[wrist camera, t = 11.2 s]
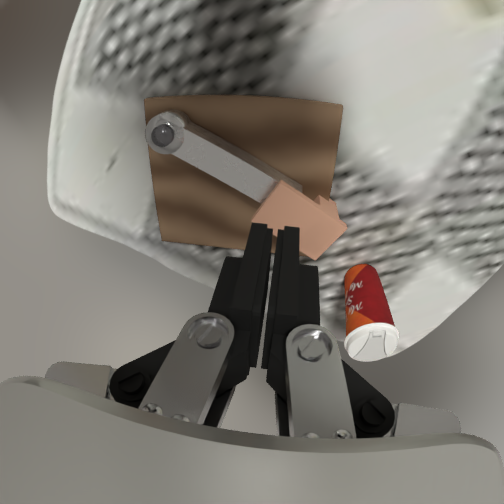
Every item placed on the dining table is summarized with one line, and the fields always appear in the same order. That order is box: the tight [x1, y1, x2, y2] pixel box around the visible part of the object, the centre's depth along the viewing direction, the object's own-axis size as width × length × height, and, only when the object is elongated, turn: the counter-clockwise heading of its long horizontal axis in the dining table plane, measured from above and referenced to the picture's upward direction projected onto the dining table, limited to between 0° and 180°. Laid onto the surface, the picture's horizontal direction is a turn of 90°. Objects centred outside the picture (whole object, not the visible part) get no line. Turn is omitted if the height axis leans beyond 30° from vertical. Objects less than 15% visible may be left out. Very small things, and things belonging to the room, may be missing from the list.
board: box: [144, 95, 343, 257], centre depth 38 cm, size 22×24×1 cm
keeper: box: [251, 180, 347, 260], centre depth 36 cm, size 10×6×6 cm, turn 58°
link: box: [145, 109, 302, 204], centre depth 33 cm, size 20×5×4 cm, turn 60°
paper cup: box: [344, 264, 399, 362], centre depth 40 cm, size 8×8×14 cm
